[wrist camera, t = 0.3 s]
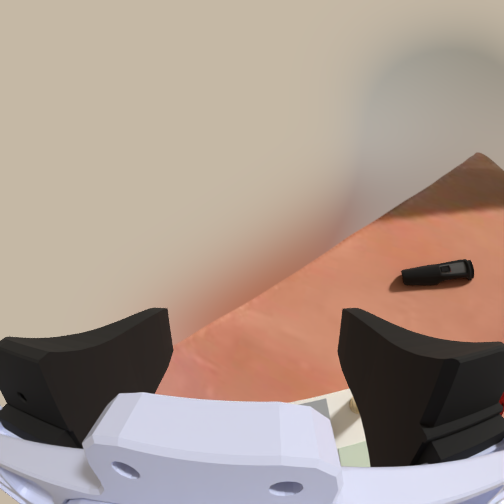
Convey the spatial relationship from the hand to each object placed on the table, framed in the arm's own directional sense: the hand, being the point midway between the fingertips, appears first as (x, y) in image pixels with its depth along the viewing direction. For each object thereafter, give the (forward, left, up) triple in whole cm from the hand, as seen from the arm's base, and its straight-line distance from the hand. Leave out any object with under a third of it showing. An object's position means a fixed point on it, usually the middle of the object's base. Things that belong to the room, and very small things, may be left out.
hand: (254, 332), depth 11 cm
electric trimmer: (+10, -28, -30) cm, 42 cm away
